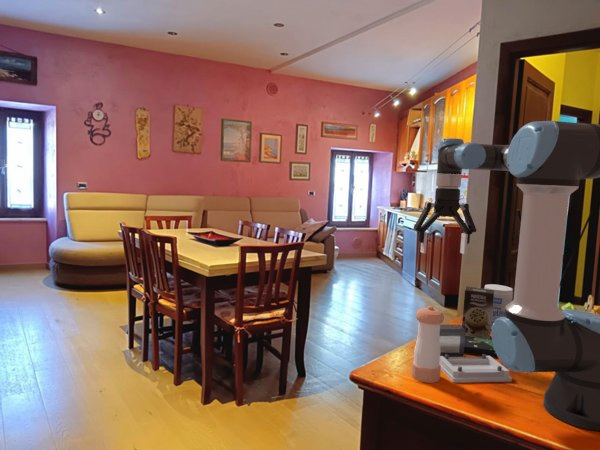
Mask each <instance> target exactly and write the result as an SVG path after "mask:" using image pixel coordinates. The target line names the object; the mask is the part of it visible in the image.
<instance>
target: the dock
mask: <svg viewBox="0 0 600 450" xmlns="http://www.w3.org/2000/svg"><path fill="white" fill-rule="evenodd" d="M439 364H440V366H441V369H440V371H442V372H443V374H445V376H446V377H447V378H448V379H449V380H450V381H451V382H452V383H454V384H455V383H457V384H458V383H503V382H504V383H507V382H508V383H509V382H510V383H511V382H512V381H513V377H511V376H510V372H511V370H509V369H508V368H507V367H505V366H504V365H503V364H502V363H500V362H499V361H497V360H496V359H495V358H494V357H491V356H486V355H485V354H482V356H463V357H449V355H448V354H445V357H443V356H440V362H439Z"/></svg>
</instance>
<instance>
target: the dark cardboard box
mask: <svg viewBox="0 0 600 450" xmlns="http://www.w3.org/2000/svg"><path fill="white" fill-rule="evenodd" d="M463 298H464V299H463V308H462V316H461V317H462V319H461V326H462V327H463V328H465V329H466V332H465V336H470V337H478V338H486V339H491V337H490V336H491V330H490V329H491V319H492V309H493V299H494V290H489V289H484V288H480V287H474V286H467V285H466V286H465V288H464V297H463Z"/></svg>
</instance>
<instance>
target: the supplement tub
mask: <svg viewBox="0 0 600 450" xmlns="http://www.w3.org/2000/svg"><path fill="white" fill-rule="evenodd" d="M483 289H489V290H494V299H493V309H492V319H491V329H490V331H492V325H493V323H494V322H495V320H496V319H498V318H500V317H504V316H505V307H506V305H508V304H509V303H511V302H512V301H513V299H514V291H513V290H514V289H513V288H512V287H509V286H507V285H501V284H494V283H493V284H492V283H491V284H488V283H487V284H485V285H484V287H483Z"/></svg>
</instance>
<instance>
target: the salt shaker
mask: <svg viewBox="0 0 600 450" xmlns="http://www.w3.org/2000/svg"><path fill="white" fill-rule="evenodd" d="M415 317H416V320H417V322H418V326H417V338H416V342H415V347H414V350H413V361H412V363H411V377H412V378H413V379H415V380H416V381H418V382H422V383H427V384H429V383H430V384H434V383H437V382H439V381H440V380H441V366H440V364H439V362H440V341H439V335H440V325H442V324H443V322H444V320H445V316H444V314H443V312H442V311H441V310H439V309H437V308H435V307H434V306H432V305H428V306H426V307H421V308H419V309H418V310H417V311H416V314H415Z"/></svg>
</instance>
